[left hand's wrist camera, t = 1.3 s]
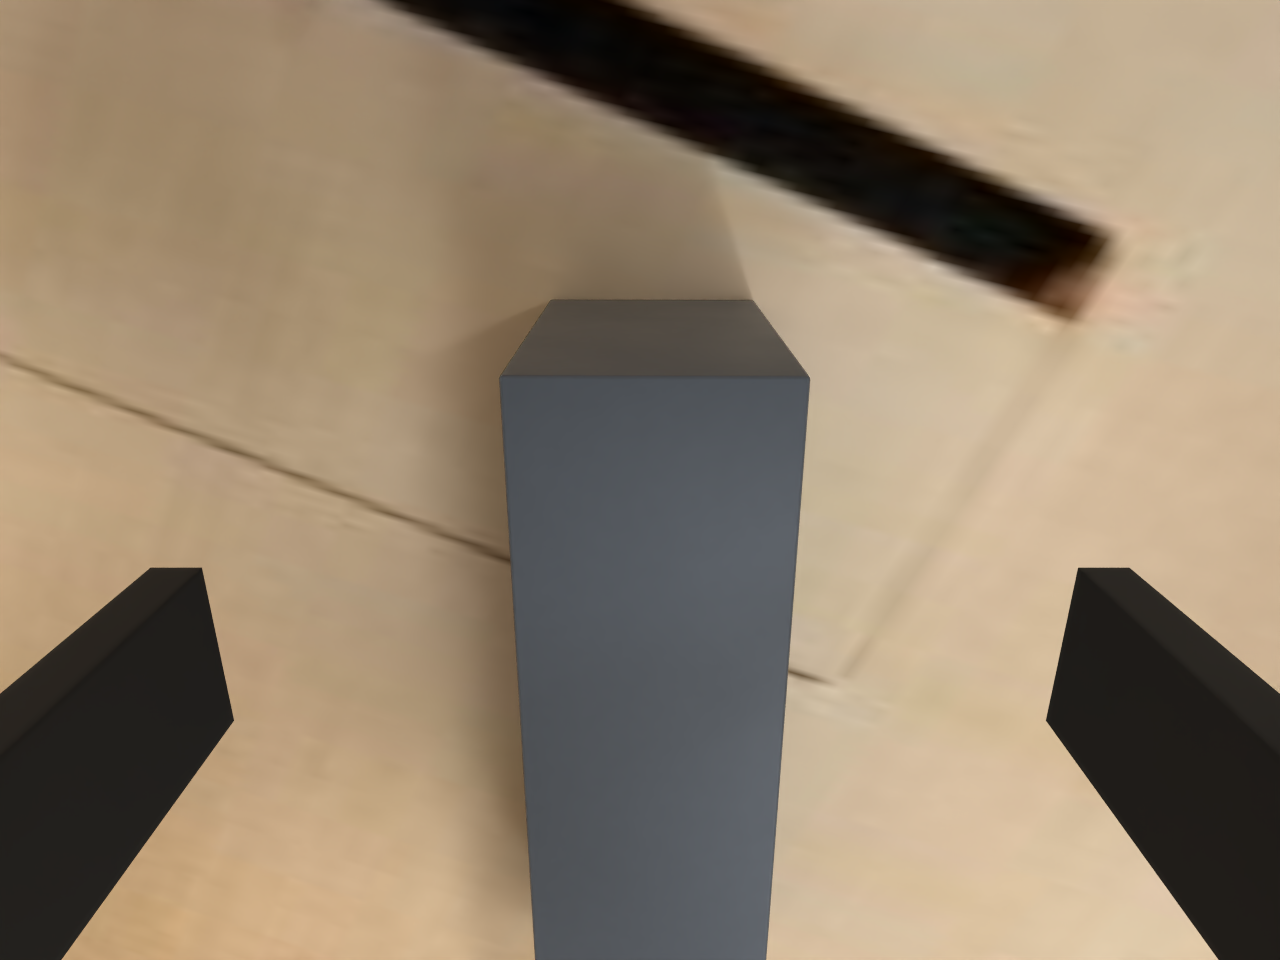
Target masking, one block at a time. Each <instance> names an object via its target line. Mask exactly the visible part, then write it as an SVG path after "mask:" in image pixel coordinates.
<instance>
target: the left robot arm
mask: <svg viewBox="0 0 1280 960" xmlns="http://www.w3.org/2000/svg"><path fill="white" fill-rule="evenodd" d="M233 721H234V718H233V714H232V709H231V704H230V699H229V695H228V690H227V685H226V680H225V676H224V671H223V666H222V661H221V657H220V652H219V647H218V642H217V638H216V633H215V628H214V623H213V619H212V614H211V609H210V604H209V600H208V595H207V590H206V585H205V581H204V576H203V571H202V568H150V569H149V570H147V571H146V572H145V573H144V574H143V575H141V576H140V577H139V578H138V579H137V580H135V581H134V582H133V583H132V584H131V585H130V586H128V587H127V588H126V589H125V590H124V591H122V592H121V593H120V594H119V595H118V596H116V597H115V598H114V599H113V600H112V601H110V602H109V603H108V604H107V605H106V606H104V607H103V608H102V609H101V610H100V611H98V612H97V613H96V614H95V615H94V616H93V617H91V618H90V619H89V620H88V621H87V622H85V623H84V624H83V625H82V626H81V627H79V628H78V629H77V630H76V631H75V632H73V633H72V634H71V635H70V636H69V637H67V638H66V639H65V640H64V641H63V642H61V643H60V644H59V645H58V646H57V647H56V648H54V649H53V650H52V651H51V652H50V653H48V654H47V655H46V656H45V657H44V658H42V659H41V660H40V661H39V662H38V663H36V664H35V665H34V666H33V667H32V668H30V669H29V670H28V671H27V672H26V673H24V674H23V675H22V676H21V677H20V678H19V679H17V680H16V681H15V682H14V683H13V684H11V685H10V686H9V687H8V688H7V689H5V690H4V691H3V692H2V693H1V694H0V960H62V958H63V957H64V955H65V954H66V953H67V951H68V950H69V948H70V947H71V946H72V944H73V943H74V941H75V940H76V939H77V937H78V936H79V935H80V933H81V932H82V930H83V929H84V928H85V926H86V925H87V923H88V922H89V921H90V919H91V918H92V917H93V915H94V914H95V912H96V911H97V910H98V908H99V907H100V905H101V904H102V903H103V901H104V900H105V899H106V897H107V896H108V894H109V893H110V892H111V890H112V889H113V887H114V886H115V885H116V883H117V882H118V881H119V879H120V878H121V876H122V875H123V874H124V872H125V871H126V869H127V868H128V867H129V865H130V864H131V863H132V861H133V860H134V858H135V857H136V856H137V854H138V853H139V851H140V850H141V849H142V847H143V846H144V844H145V843H146V842H147V840H148V839H149V838H150V836H151V835H152V833H153V832H154V831H155V829H156V828H157V826H158V825H159V824H160V822H161V821H162V820H163V818H164V817H165V815H166V814H167V813H168V811H169V810H170V808H171V807H172V806H173V804H174V803H175V802H176V800H177V799H178V797H179V796H180V795H181V793H182V792H183V790H184V789H185V788H186V786H187V785H188V784H189V782H190V781H191V779H192V778H193V777H194V775H195V774H196V772H197V771H198V770H199V768H200V767H201V766H202V764H203V763H204V761H205V760H206V759H207V757H208V756H209V754H210V753H211V752H212V750H213V749H214V747H215V746H216V745H217V743H218V742H219V741H220V739H221V738H222V736H223V735H224V734H225V732H226V731H227V729H228V728H229V727H230V725H231V724H232V723H233ZM1046 721H1047V723H1048V724H1049V725H1050V727H1051V728H1052V729H1053V731H1054V732H1055V734H1056V735H1057V736H1058V738H1059V739H1060V741H1061V742H1062V743H1063V745H1064V746H1065V747H1066V749H1067V750H1068V752H1069V753H1070V754H1071V756H1072V757H1073V759H1074V760H1075V761H1076V763H1077V764H1078V766H1079V767H1080V768H1081V770H1082V771H1083V772H1084V774H1085V775H1086V777H1087V778H1088V779H1089V781H1090V782H1091V784H1092V785H1093V786H1094V788H1095V789H1096V790H1097V792H1098V793H1099V795H1100V796H1101V797H1102V799H1103V800H1104V802H1105V803H1106V804H1107V806H1108V807H1109V808H1110V810H1111V811H1112V813H1113V814H1114V815H1115V817H1116V818H1117V820H1118V821H1119V822H1120V824H1121V825H1122V826H1123V828H1124V829H1125V831H1126V832H1127V833H1128V835H1129V836H1130V838H1131V839H1132V840H1133V842H1134V843H1135V844H1136V846H1137V847H1138V849H1139V850H1140V851H1141V853H1142V854H1143V856H1144V857H1145V858H1146V860H1147V861H1148V863H1149V864H1150V865H1151V867H1152V868H1153V869H1154V871H1155V872H1156V874H1157V875H1158V876H1159V878H1160V879H1161V881H1162V882H1163V883H1164V885H1165V886H1166V887H1167V889H1168V890H1169V892H1170V893H1171V894H1172V896H1173V897H1174V899H1175V900H1176V901H1177V903H1178V904H1179V905H1180V907H1181V908H1182V910H1183V911H1184V912H1185V914H1186V915H1187V917H1188V918H1189V919H1190V921H1191V922H1192V923H1193V925H1194V926H1195V928H1196V929H1197V930H1198V932H1199V933H1200V935H1201V936H1202V937H1203V939H1204V940H1205V941H1206V943H1207V944H1208V946H1209V947H1210V948H1211V950H1212V951H1213V953H1214V954H1215V955H1216V957H1217V958H1218V960H1280V694H1279V693H1278V692H1277V691H1276V690H1275V689H1273V688H1272V687H1271V686H1270V685H1269V684H1267V683H1266V682H1265V681H1264V680H1263V679H1261V678H1260V677H1259V676H1258V675H1257V674H1256V673H1254V672H1253V671H1252V670H1251V669H1250V668H1248V667H1247V666H1246V665H1245V664H1244V663H1242V662H1241V661H1240V660H1239V659H1238V658H1236V657H1235V656H1234V655H1233V654H1232V653H1230V652H1229V651H1228V650H1227V649H1226V648H1224V647H1223V646H1222V645H1221V644H1220V643H1219V642H1217V641H1216V640H1215V639H1214V638H1213V637H1211V636H1210V635H1209V634H1208V633H1207V632H1205V631H1204V630H1203V629H1202V628H1201V627H1199V626H1198V625H1197V624H1196V623H1195V622H1193V621H1192V620H1191V619H1190V618H1189V617H1187V616H1186V615H1185V614H1184V613H1183V612H1182V611H1180V610H1179V609H1178V608H1177V607H1176V606H1174V605H1173V604H1172V603H1171V602H1170V601H1168V600H1167V599H1166V598H1165V597H1164V596H1162V595H1161V594H1160V593H1159V592H1158V591H1156V590H1155V589H1154V588H1153V587H1152V586H1150V585H1149V584H1148V583H1147V582H1146V581H1144V580H1143V579H1142V578H1141V577H1140V576H1139V575H1137V574H1136V573H1135V572H1134V571H1133V570H1131V569H1130V568H1078V571H1077V576H1076V581H1075V585H1074V590H1073V595H1072V600H1071V604H1070V609H1069V614H1068V619H1067V623H1066V628H1065V633H1064V638H1063V642H1062V647H1061V652H1060V657H1059V661H1058V666H1057V671H1056V676H1055V680H1054V685H1053V690H1052V695H1051V699H1050V704H1049V709H1048V714H1047V718H1046Z"/></svg>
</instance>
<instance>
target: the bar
mask: <svg viewBox="0 0 1280 960" xmlns="http://www.w3.org/2000/svg"><path fill="white" fill-rule="evenodd" d="M499 383H500V399H501V416H502V432H503V448H504V464H505V480H506V496H507V513H508V529H509V545H510V561H511V577H512V593H513V610H514V626H515V642H516V658H517V674H518V691H519V707H520V723H521V739H522V755H523V771H524V788H525V804H526V820H527V836H528V852H529V869H530V885H531V901H532V917H533V933H534V949H535V960H766V954H767V941H768V928H769V915H770V902H771V888H772V875H773V862H774V849H775V836H776V823H777V809H778V796H779V783H780V770H781V757H782V744H783V730H784V717H785V704H786V691H787V678H788V665H789V651H790V638H791V625H792V612H793V599H794V585H795V572H796V559H797V546H798V533H799V520H800V506H801V493H802V480H803V467H804V454H805V441H806V427H807V414H808V401H809V388H810V378H809V376H808V374H807V373H806V372H805V370H804V369H803V368H802V366H801V365H800V363H799V362H798V361H797V359H796V358H795V357H794V355H793V354H792V353H791V351H790V350H789V349H788V347H787V346H786V344H785V343H784V342H783V340H782V339H781V338H780V336H779V335H778V334H777V332H776V331H775V329H774V328H773V327H772V325H771V324H770V323H769V321H768V320H767V319H766V317H765V316H764V315H763V313H762V312H761V310H760V309H759V308H758V306H757V305H756V304H755V302H754V301H752V300H551V301H550V302H549V304H548V305H547V307H546V308H545V310H544V311H543V313H542V314H541V316H540V317H539V319H538V320H537V322H536V323H535V324H534V326H533V327H532V329H531V330H530V332H529V333H528V335H527V336H526V338H525V339H524V341H523V342H522V344H521V345H520V347H519V348H518V350H517V351H516V353H515V354H514V356H513V357H512V359H511V360H510V362H509V363H508V365H507V366H506V368H505V369H504V371H503V372H502V374H501V375H500V378H499Z"/></svg>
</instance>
